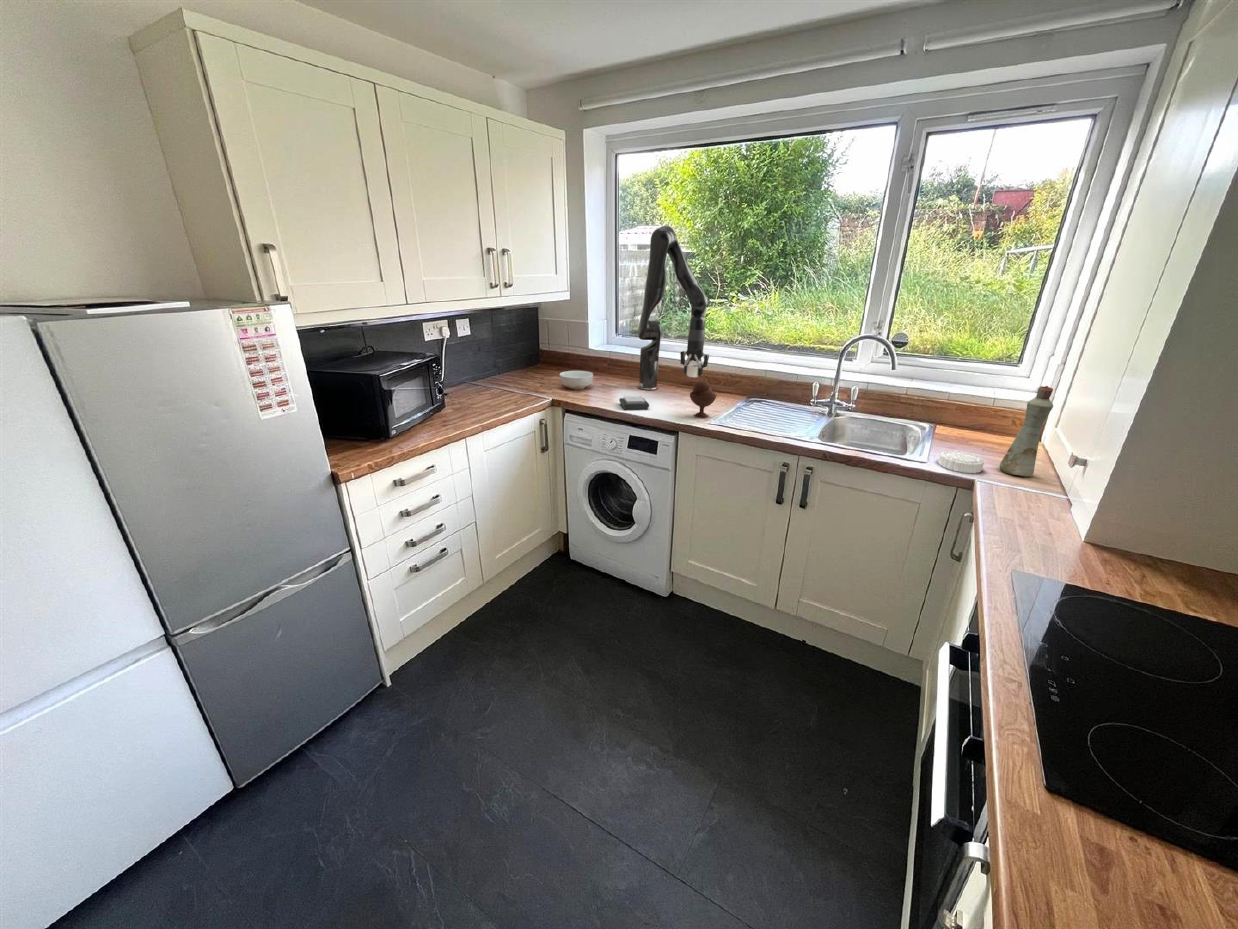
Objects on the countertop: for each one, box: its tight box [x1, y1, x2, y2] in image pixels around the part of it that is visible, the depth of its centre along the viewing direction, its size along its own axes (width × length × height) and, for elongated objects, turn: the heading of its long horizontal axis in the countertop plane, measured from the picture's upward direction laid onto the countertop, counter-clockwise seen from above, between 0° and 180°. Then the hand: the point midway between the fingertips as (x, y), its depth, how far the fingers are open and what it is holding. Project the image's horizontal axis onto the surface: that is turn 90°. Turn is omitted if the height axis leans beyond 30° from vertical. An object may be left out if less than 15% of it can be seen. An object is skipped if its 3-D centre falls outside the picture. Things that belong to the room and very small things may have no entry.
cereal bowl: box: [559, 370, 594, 390], centre depth 247 cm, size 17×17×7 cm
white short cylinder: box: [685, 364, 699, 378], centre depth 237 cm, size 6×6×5 cm
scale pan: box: [623, 396, 646, 404], centre depth 217 cm, size 8×8×2 cm
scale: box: [619, 397, 650, 411], centre depth 218 cm, size 11×11×2 cm
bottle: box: [998, 385, 1054, 478], centre depth 152 cm, size 9×9×28 cm
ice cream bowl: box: [689, 380, 718, 419], centre depth 204 cm, size 11×11×15 cm
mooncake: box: [937, 450, 985, 474], centre depth 160 cm, size 12×12×4 cm
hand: (692, 374), depth 238 cm, fingers closed on white short cylinder, 6 cm apart
